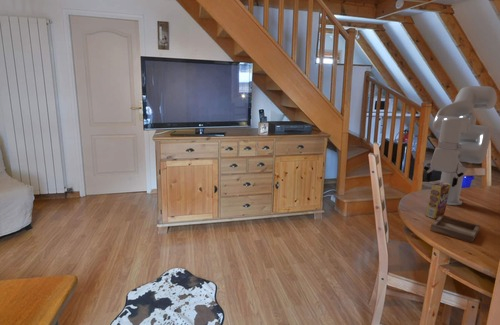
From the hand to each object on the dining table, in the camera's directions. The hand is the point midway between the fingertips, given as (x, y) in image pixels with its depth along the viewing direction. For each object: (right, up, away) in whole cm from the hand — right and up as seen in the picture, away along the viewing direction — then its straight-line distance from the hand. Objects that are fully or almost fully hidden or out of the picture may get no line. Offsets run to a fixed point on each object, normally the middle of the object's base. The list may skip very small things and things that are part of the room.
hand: (440, 183), depth 139 cm
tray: (-1, -19, -11) cm, 22 cm away
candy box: (0, -15, +4) cm, 16 cm away
